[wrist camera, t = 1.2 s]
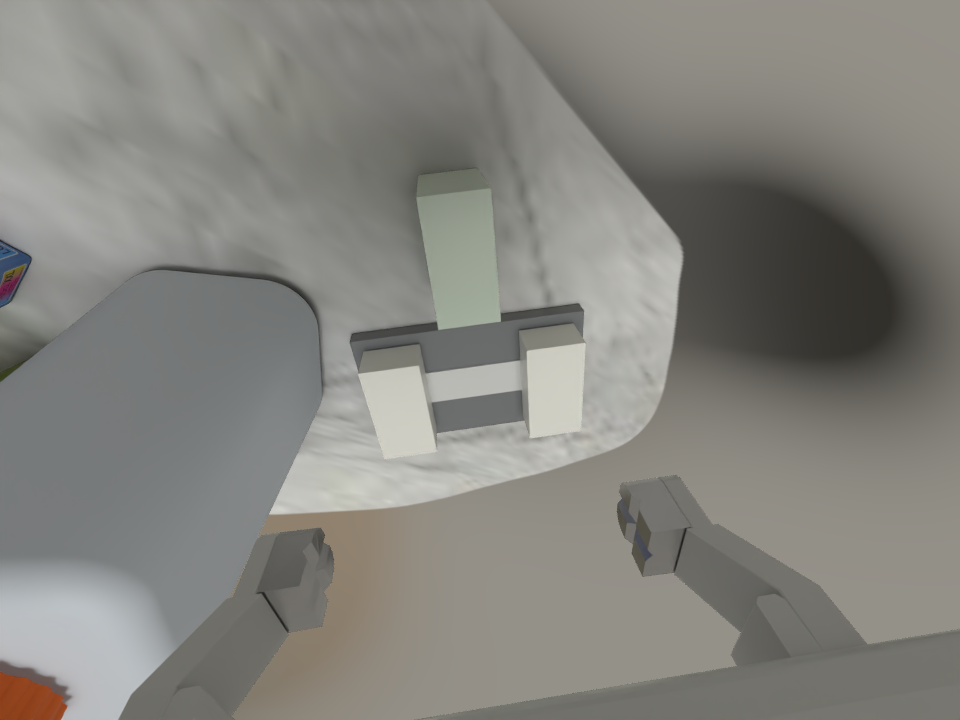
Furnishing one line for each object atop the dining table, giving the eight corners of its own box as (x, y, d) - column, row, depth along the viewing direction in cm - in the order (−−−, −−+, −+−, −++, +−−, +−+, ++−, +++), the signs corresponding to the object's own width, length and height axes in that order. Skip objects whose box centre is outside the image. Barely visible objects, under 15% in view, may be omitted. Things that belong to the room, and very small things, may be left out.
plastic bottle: (326, 417, 42) (203, 815, 19) (162, 410, 40) (-213, 859, 16) (319, 279, 35) (92, 668, 11) (114, 258, 32) (-740, 709, 9)
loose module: (418, 175, 31) (415, 197, 24) (477, 167, 31) (491, 188, 25) (437, 288, 36) (439, 333, 30) (487, 282, 36) (501, 324, 30)
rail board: (352, 334, 38) (342, 365, 33) (578, 303, 38) (598, 330, 34) (381, 431, 44) (376, 468, 40) (574, 403, 45) (590, 436, 41)
